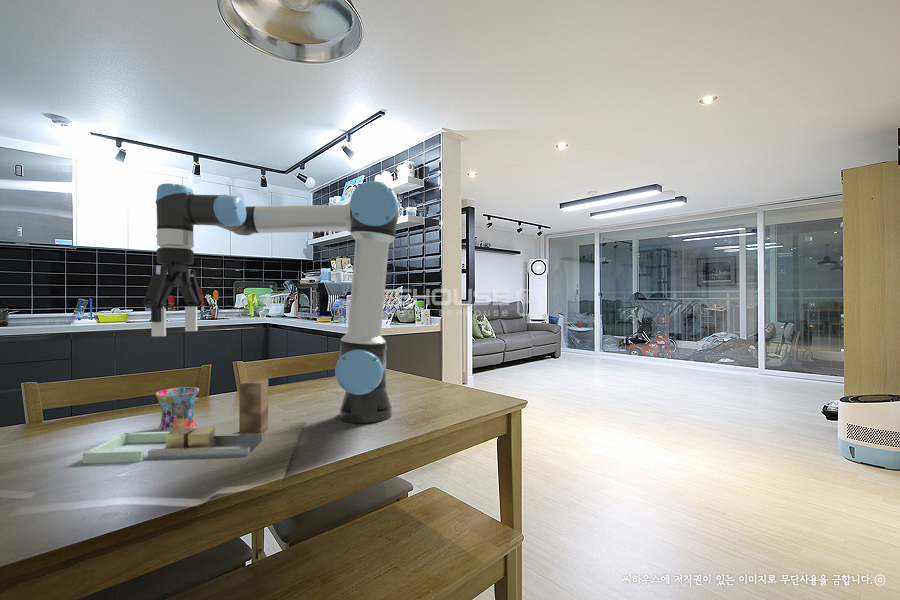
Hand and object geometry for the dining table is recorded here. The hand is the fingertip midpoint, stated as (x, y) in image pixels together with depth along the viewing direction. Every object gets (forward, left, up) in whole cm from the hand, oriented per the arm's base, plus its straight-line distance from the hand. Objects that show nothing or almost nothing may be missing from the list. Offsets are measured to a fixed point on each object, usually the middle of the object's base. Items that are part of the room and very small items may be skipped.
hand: (176, 333), depth 97 cm
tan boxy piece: (-12, +12, -25) cm, 30 cm away
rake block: (-19, +2, -26) cm, 32 cm away
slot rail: (-13, +11, -26) cm, 31 cm away
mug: (+2, -5, -26) cm, 26 cm away
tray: (+3, +11, -26) cm, 28 cm away
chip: (-7, +11, -25) cm, 28 cm away
